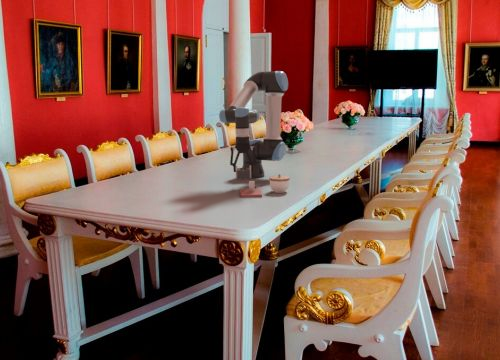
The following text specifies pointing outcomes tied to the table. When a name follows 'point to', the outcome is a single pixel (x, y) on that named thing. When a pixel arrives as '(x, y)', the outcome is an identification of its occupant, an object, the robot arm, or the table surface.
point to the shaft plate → (249, 194)
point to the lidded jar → (279, 183)
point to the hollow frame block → (243, 173)
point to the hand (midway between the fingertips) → (243, 177)
